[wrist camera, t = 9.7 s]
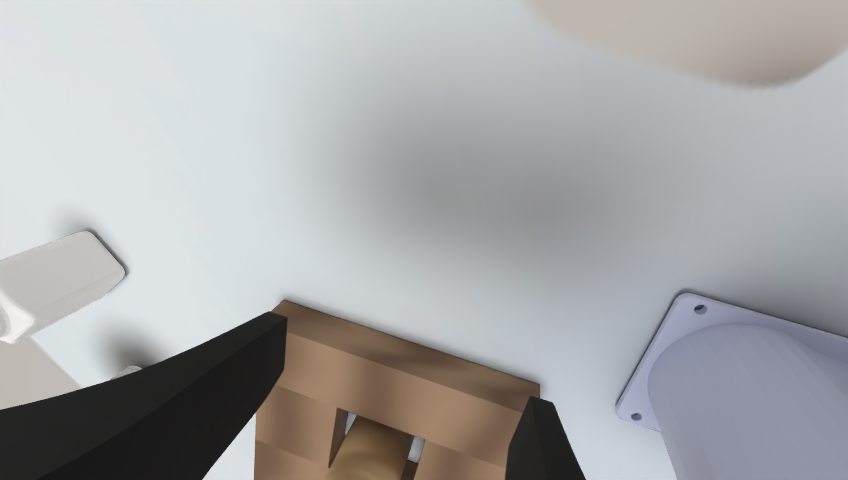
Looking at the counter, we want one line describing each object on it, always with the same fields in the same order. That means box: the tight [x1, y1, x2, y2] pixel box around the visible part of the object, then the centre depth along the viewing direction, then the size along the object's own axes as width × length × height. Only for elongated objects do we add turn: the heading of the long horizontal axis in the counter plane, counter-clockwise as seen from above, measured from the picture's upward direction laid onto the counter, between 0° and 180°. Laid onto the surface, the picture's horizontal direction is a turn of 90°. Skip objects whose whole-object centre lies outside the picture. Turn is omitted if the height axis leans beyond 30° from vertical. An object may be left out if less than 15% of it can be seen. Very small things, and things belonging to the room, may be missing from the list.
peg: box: [324, 415, 414, 480], centre depth 24 cm, size 4×4×8 cm
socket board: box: [254, 300, 540, 480], centre depth 26 cm, size 16×14×2 cm
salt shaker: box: [0, 231, 125, 344], centre depth 24 cm, size 4×4×10 cm
